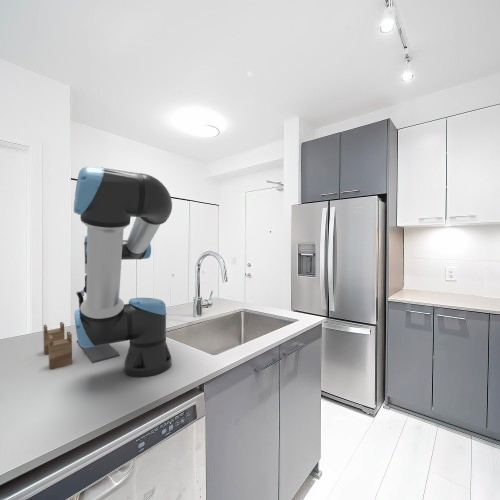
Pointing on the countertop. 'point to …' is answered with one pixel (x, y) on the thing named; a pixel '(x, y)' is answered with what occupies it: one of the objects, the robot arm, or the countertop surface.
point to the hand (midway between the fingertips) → (96, 332)
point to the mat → (100, 352)
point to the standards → (58, 347)
